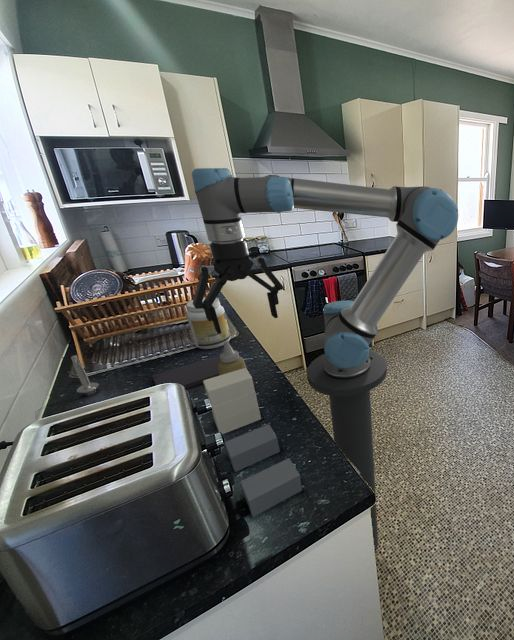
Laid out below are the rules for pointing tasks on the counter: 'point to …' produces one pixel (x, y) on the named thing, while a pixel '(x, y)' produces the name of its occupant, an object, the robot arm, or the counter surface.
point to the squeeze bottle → (230, 360)
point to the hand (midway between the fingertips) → (247, 323)
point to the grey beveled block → (271, 486)
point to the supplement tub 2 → (207, 326)
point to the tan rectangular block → (229, 386)
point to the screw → (84, 379)
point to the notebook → (190, 373)
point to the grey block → (252, 447)
